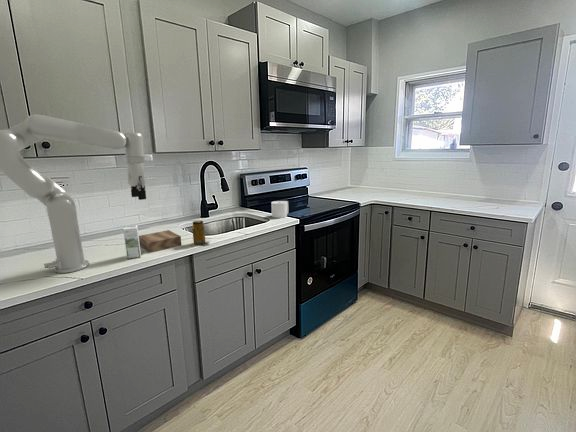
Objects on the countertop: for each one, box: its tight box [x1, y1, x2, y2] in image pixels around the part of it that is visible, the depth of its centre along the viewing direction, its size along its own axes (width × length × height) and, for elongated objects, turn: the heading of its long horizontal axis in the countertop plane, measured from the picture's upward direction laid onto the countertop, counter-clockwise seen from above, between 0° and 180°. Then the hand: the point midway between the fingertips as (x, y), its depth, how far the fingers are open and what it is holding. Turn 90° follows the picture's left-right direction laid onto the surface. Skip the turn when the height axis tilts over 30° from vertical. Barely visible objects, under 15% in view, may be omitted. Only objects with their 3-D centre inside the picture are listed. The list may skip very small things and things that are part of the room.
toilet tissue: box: [271, 200, 289, 219], centre depth 224 cm, size 11×12×10 cm
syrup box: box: [122, 224, 142, 260], centre depth 148 cm, size 6×6×14 cm
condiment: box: [191, 220, 211, 247], centre depth 166 cm, size 7×8×12 cm
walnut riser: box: [139, 229, 182, 254], centre depth 165 cm, size 16×16×5 cm
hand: (138, 198), depth 148 cm, fingers open, 9 cm apart
